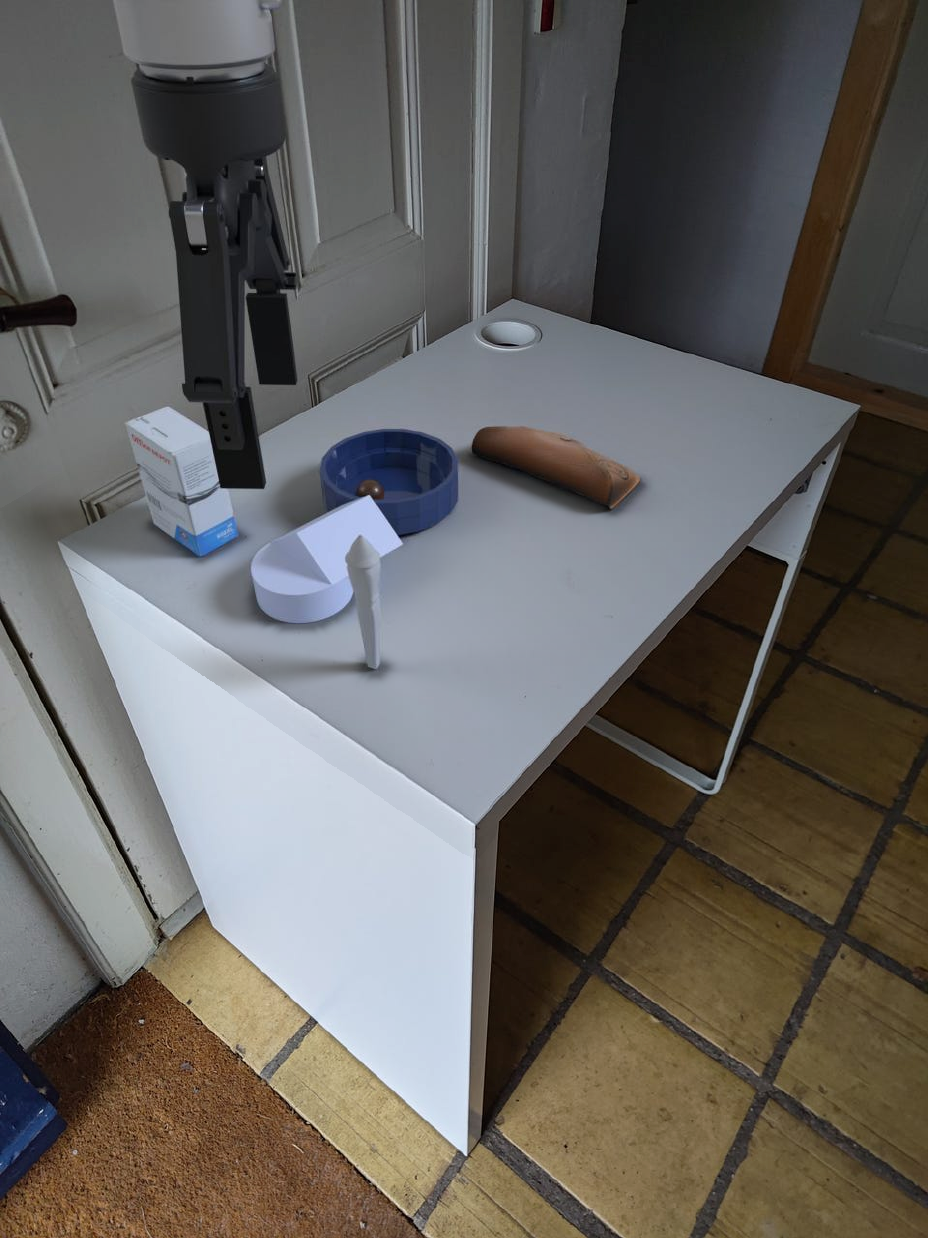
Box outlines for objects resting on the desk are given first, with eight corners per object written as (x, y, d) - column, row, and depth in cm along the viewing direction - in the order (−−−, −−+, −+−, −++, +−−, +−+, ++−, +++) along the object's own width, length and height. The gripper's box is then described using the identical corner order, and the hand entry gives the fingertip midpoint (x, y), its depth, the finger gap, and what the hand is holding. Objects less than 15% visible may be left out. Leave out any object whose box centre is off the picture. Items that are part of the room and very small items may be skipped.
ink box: (240, 537, 87) (218, 434, 79) (198, 559, 85) (172, 454, 77) (192, 503, 92) (167, 402, 84) (151, 523, 89) (121, 421, 81)
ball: (355, 514, 89) (352, 489, 87) (357, 497, 92) (355, 473, 89) (384, 514, 89) (382, 489, 87) (386, 497, 92) (384, 473, 90)
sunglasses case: (646, 474, 95) (639, 441, 89) (615, 527, 94) (606, 497, 88) (511, 425, 103) (496, 392, 97) (481, 473, 102) (464, 442, 96)
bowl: (316, 539, 87) (311, 502, 84) (332, 463, 98) (328, 428, 94) (457, 540, 87) (457, 503, 84) (458, 464, 98) (458, 428, 95)
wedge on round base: (345, 532, 88) (237, 590, 81) (338, 476, 83) (224, 532, 77) (404, 571, 83) (296, 637, 76) (401, 514, 79) (285, 578, 72)
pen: (381, 680, 73) (369, 548, 63) (352, 672, 73) (336, 540, 64) (393, 660, 74) (383, 529, 65) (365, 653, 75) (351, 521, 66)
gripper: (227, 126, 35) (290, 541, 50) (309, 25, 54) (337, 349, 68) (43, 123, 35) (159, 539, 50) (188, 22, 54) (242, 347, 68)
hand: (262, 430), depth 59 cm, fingers open, 13 cm apart
